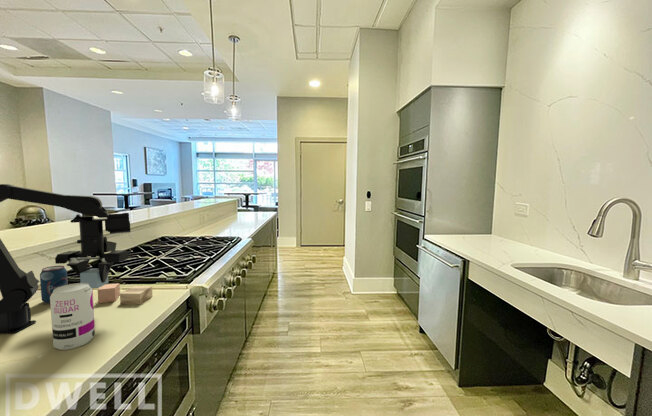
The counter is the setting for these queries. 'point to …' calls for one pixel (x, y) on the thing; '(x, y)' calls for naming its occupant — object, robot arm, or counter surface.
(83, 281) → the slate cube
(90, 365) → the counter surface
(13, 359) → the counter surface
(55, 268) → the soda can
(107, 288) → the terracotta cube
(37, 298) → the counter surface
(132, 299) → the oak block
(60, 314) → the supplement can
